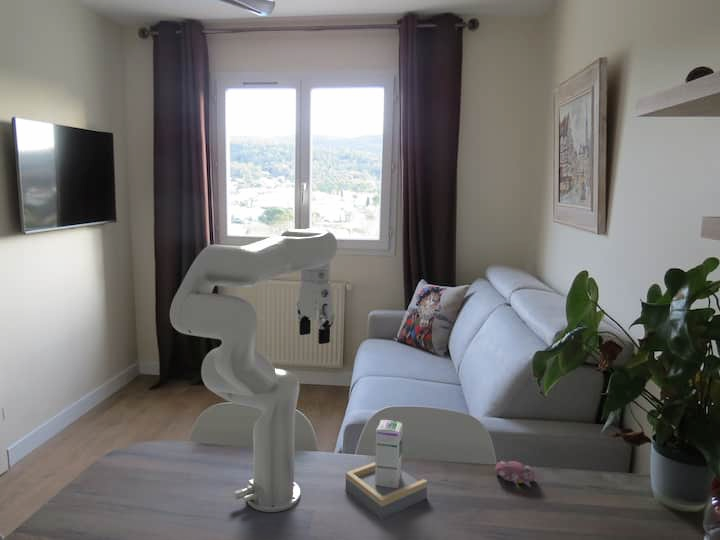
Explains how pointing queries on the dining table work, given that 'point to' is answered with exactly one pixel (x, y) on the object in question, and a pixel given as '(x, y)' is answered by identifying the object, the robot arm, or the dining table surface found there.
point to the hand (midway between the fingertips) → (314, 338)
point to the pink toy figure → (515, 471)
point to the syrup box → (388, 453)
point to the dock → (384, 491)
